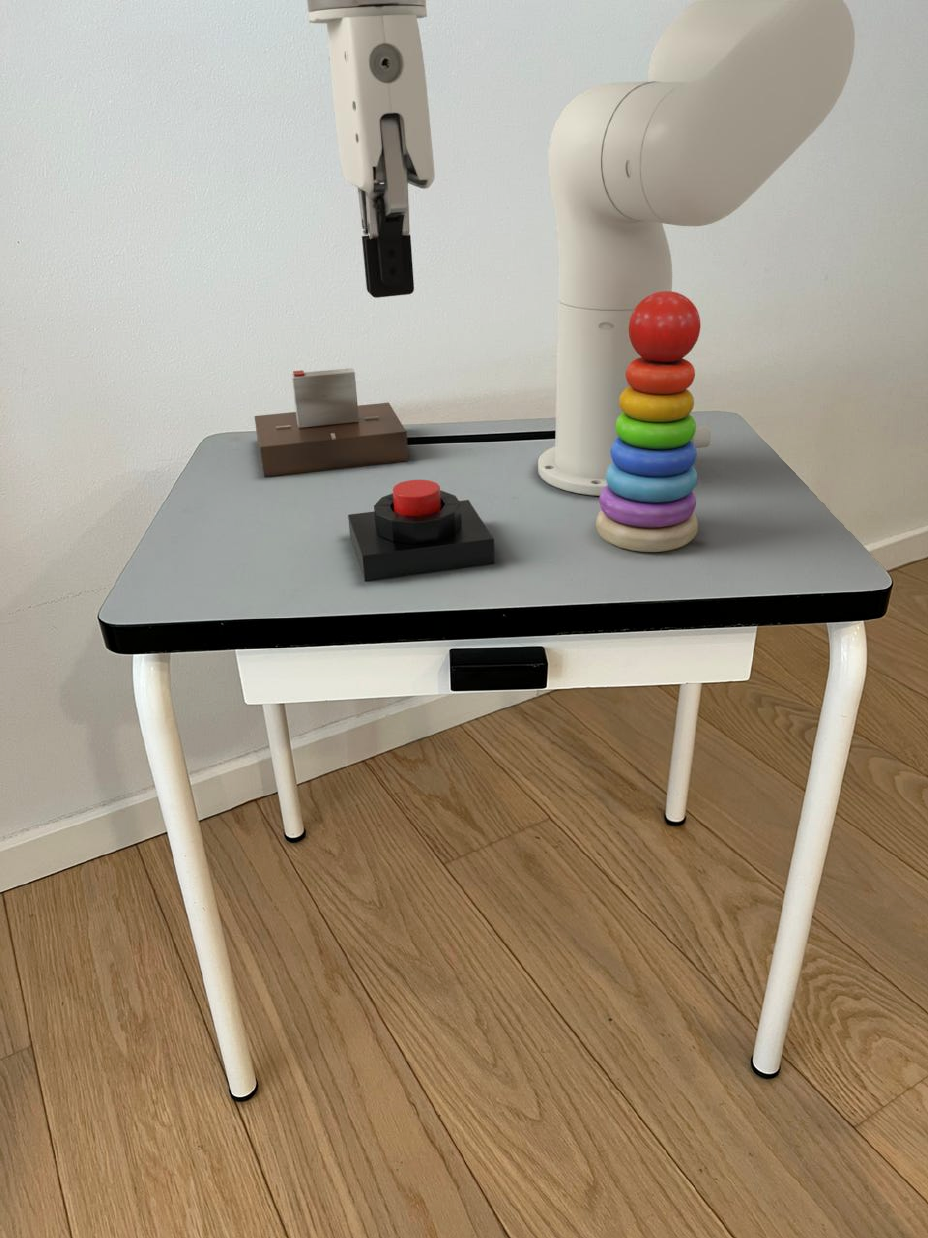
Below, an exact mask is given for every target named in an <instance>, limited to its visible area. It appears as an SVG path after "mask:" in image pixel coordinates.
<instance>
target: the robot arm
mask: <svg viewBox="0 0 928 1238" xmlns="http://www.w3.org/2000/svg"><path fill="white" fill-rule="evenodd" d="M306 4H307V11H308V20H309V23H310V24H323V25H325V24H326V29H327V30H326V31H327V42H328V55H329V56H328V60H329V69H330V79H331V80H330V81H331V91H332V101H333V111H334V121H335V132H336V139H337V147H338V154H339V161H340V167H341V172H342V176H343V178H344V180H345V181H347V182H348V183H349V184H351V185H352V186H353V187H356V189H357V195H358V196H357V197H358V203H359V204H358V205H359V212H360V221H361V229H362V234H363V235H361V241H362V242H361V244H362V255H363V263H364V264H363V265H364V274H365V275H364V276H365V285H366V286H365V287H366V291H367V293H368V294H370V296H371V297H373V298H385V297H386V298H389V297H397V296H398V297H399V296H406V295H412V294H413V293H414V291H415V282H414V281H415V280H414V269H413V253H412V251H413V250H412V239H411V238H412V237H411V234H410V232H411V231H410V208H409V207H410V205H409V185H412V186H414V187H417V188H419V189H423V190H424V189H425V190H426V189H429V188H430V187H431V186H432V185H433V183H434V181H435V178H436V175H435V163H434V162H435V161H434V150H433V149H434V148H433V139H432V138H433V137H432V128H431V119H430V109H429V97H428V87H427V86H428V85H427V78H426V77H427V76H426V67H425V61H424V53H423V52H424V51H423V45H422V39H421V34H420V29H419V23H418V19H423V18H427V17H428V15H427V13H428V12H427V0H306ZM855 36H856V34H855V26H854V22H853V18H852V15H851V12H850V9H849V8H848V6H847V4H846V2H845V1H844V0H693V1H692V2H691V3H690V4H689V5H688V6H687V7H685V9H683V10H682V11H681V12H680V13H679V15H677V16H676V17H675V18H674V20H672V22H671V23H670V24H669V25H668V27H666V29H665V31H664V32H663V33H662V35H661V36H660V38H659V39H658V41H657V43H656V45H655V47H654V49H653V52H652V54H651V56H650V57H651V58H650V60H649V66H648V75H647V76H648V78H647V79H648V81H620V82H612V83H610V82H609V83H605V84H600V85H597V86H594V87H592V88H589V89H587V90H585V91H583V92H581V93H580V94H578V95H576V97H574V98H573V99H572V100H571V101H569V102H568V104H567V105H566V106H565V107H564V108H563V110H562V111H561V113H560V114H559V116H558V117H557V119H556V121H555V124H554V126H553V129H552V131H551V134H550V140H549V143H548V153H547V155H548V156H547V167H548V168H547V169H548V180H549V187H550V192H551V193H550V194H551V198H552V204H553V205H552V206H553V210H554V218H555V226H556V236H557V255H558V256H557V257H558V258H557V259H558V261H557V262H558V265H557V269H558V272H557V274H558V276H557V277H558V279H557V326H556V327H557V330H556V331H557V332H556V333H557V334H556V379H555V380H556V386H555V387H556V388H555V389H556V390H555V397H556V398H555V435H554V436H555V439H554V440H555V442H554V446H552V447H550V448H548V449H546V450H545V451H544V452H542V454H541V455H540V456H539V458H538V460H537V473H538V475H539V476H540V478H541V479H542V480H543V481H545V482H546V483H547V484H548V485H550V486H553V487H555V488H557V489H559V490H562V491H566V492H570V493H574V494H578V495H586V496H595V497H600V494H601V491H602V490H603V489H604V487H605V486H606V485H608V484H607V481H606V473H607V470H608V468H609V466H610V465H611V464H612V463H613V461H612V458H611V453H610V451H611V446H612V444H613V442H614V441H615V440H616V439H617V438H618V437H619V436H618V435H617V432H616V421H617V418H618V417H619V416H620V414H622V413H623V411H622V410H621V408H620V405H619V398H620V395H621V393H622V392H623V391H624V390H625V389H626V388H627V387H629V386H630V385H629V384H628V382H627V380H626V369H627V367H628V365H629V364H630V363H631V362H632V361H633V360H635V359H637V358H640V357H641V356H640V355H639V354H638V353H637V352H636V351H635V349H634V348H633V346H632V344H631V341H630V337H629V322H630V318H631V315H632V313H633V311H634V309H635V308H636V306H637V305H638V304H639V303H640V302H641V301H642V300H643V299H644V298H646V297H647V296H649V295H651V294H654V293H656V292H662V291H672V290H673V289H672V288H673V262H672V256H671V250H670V245H669V242H668V238H667V235H666V231H665V227H664V225H663V224H665V225H672V226H678V227H679V226H680V227H703V226H708V225H712V224H714V223H716V222H717V223H718V222H719V221H721V220H723V219H724V218H726V217H728V216H729V215H730V214H732V213H734V212H735V211H736V210H737V209H739V208H740V207H741V206H743V204H744V203H745V202H746V201H748V199H750V197H752V196H753V195H754V193H756V192H757V191H758V189H760V188H761V187H762V185H763V184H765V183H766V181H768V180H769V179H770V178H771V177H772V175H773V174H774V173H775V172H776V171H777V170H779V168H780V167H781V166H783V164H784V163H785V162H786V161H787V160H788V159H789V158H790V156H792V155H793V154H794V153H795V152H796V151H797V150H798V149H799V148H800V147H801V146H802V145H803V144H804V143H805V142H806V140H807V139H808V138H809V137H811V135H812V134H813V133H814V132H815V131H816V130H817V129H818V128H819V127H820V126H821V124H822V123H823V122H824V121H825V120H826V118H827V117H828V116H829V114H830V113H831V112H832V110H833V109H834V107H835V105H836V103H837V102H838V100H839V99H840V97H841V95H842V92H843V90H844V88H845V86H846V82H847V80H848V78H849V75H850V72H851V68H852V65H853V59H854V55H855V42H856V41H855V40H856V38H855ZM672 292H673V291H672ZM711 438H712V436H711V430H710V428H709V427H708V425H704V426H696V431H695V435H694V437H693V438H692V440H691V441H692V443H693V444H694V445H695V447H696V449H701V448H707V447H709V446H710V444H711Z"/></svg>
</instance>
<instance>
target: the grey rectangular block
mask: <svg viewBox="0 0 928 1238" xmlns="http://www.w3.org/2000/svg"><path fill="white" fill-rule="evenodd" d="M290 376H291V384H292V385H291V386H292V392H293V400H294V409H295V412H296V418H297V424H298V428H305V427H314V426H324V425H334V424H343V423H353V422H359V416H358V406H359V405H358V394H357V384H356V383H357V381H356V372H355V371H354V369H353V367H349V368H339V369H338V368H337V369H325V370H316V371H305V370H304V369H302V370H293V371H292V373H291V374H290Z"/></svg>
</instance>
